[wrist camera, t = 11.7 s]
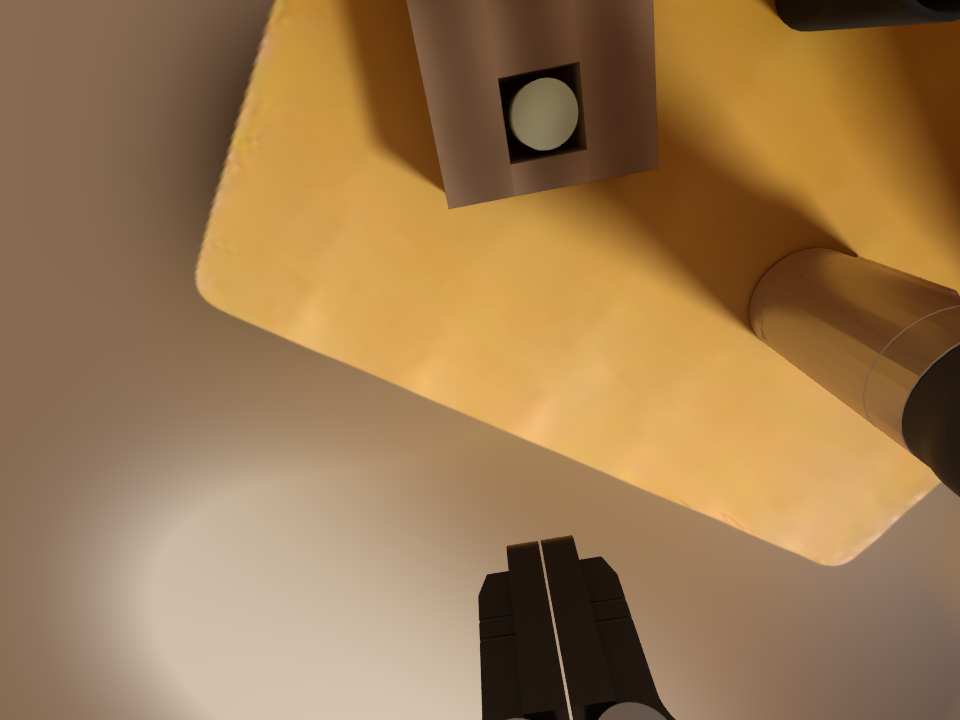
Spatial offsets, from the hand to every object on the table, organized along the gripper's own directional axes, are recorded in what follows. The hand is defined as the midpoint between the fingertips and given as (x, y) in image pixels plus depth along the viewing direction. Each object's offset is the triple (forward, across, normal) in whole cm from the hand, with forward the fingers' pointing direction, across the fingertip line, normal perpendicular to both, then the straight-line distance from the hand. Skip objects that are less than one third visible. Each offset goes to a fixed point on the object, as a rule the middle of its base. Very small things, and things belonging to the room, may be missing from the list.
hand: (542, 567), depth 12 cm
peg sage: (+33, -5, -8) cm, 34 cm away
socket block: (+33, -5, -13) cm, 36 cm away
